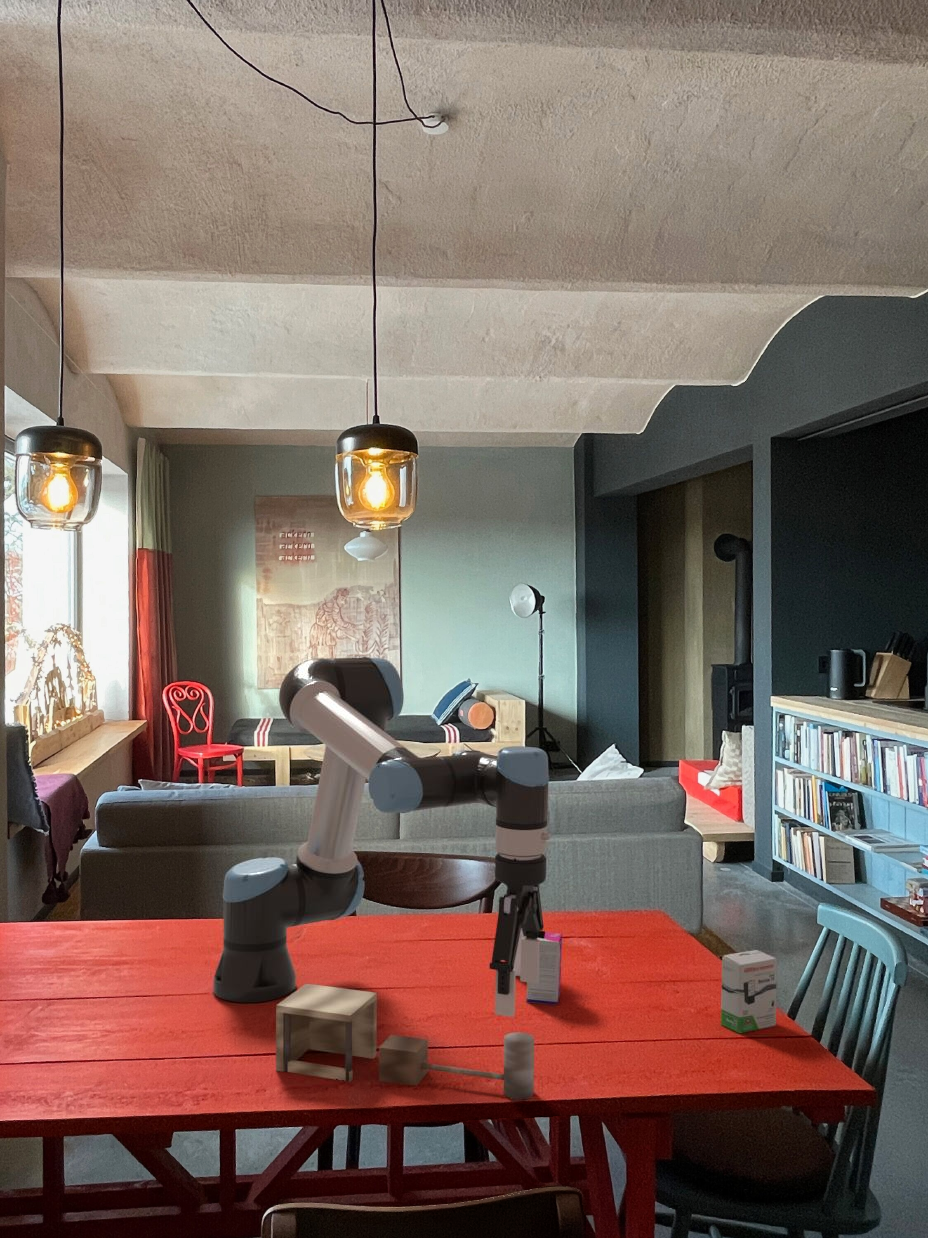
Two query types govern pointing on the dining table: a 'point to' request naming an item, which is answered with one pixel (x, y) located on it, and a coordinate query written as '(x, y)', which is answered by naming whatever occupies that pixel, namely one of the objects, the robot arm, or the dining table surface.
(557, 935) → the supplement box
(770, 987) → the ink box
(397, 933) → the dining table surface
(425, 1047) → the tethered cylinder
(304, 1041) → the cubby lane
